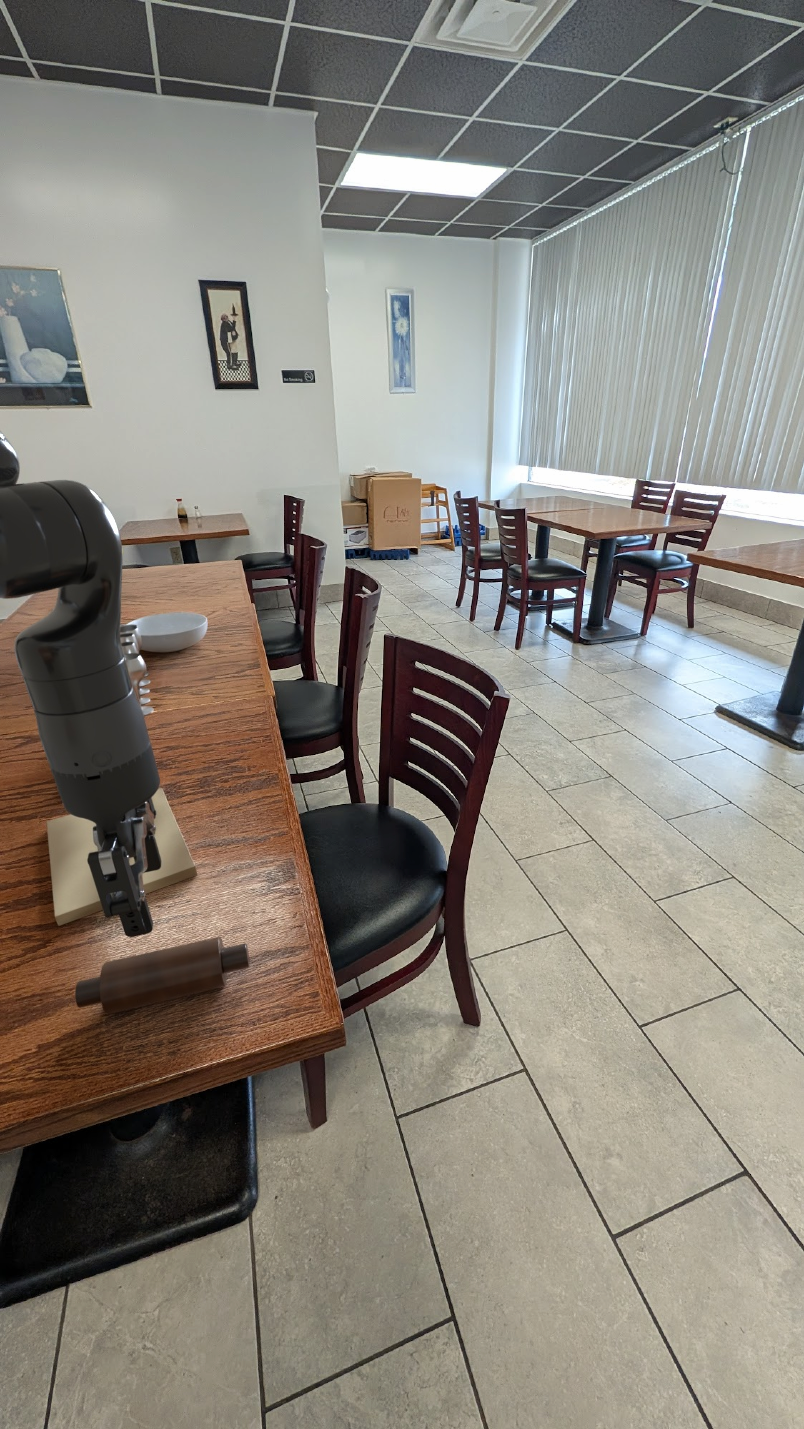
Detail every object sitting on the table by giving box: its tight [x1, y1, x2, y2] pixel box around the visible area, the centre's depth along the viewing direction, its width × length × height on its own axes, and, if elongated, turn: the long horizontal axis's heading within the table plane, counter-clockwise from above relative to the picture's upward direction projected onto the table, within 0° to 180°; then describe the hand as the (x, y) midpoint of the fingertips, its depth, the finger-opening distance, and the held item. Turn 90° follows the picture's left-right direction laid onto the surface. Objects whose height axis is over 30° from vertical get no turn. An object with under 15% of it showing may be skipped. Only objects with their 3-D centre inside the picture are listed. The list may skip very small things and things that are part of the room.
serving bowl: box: [125, 611, 208, 653], centre depth 157 cm, size 21×21×7 cm
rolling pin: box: [74, 936, 251, 1016], centre depth 59 cm, size 16×5×5 cm, turn 106°
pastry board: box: [46, 787, 198, 927], centre depth 80 cm, size 16×22×2 cm
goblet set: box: [120, 624, 154, 717], centre depth 127 cm, size 28×6×13 cm, turn 23°
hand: (145, 898), depth 55 cm, fingers open, 8 cm apart
